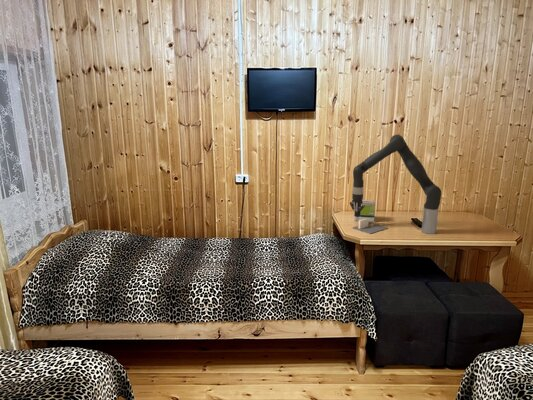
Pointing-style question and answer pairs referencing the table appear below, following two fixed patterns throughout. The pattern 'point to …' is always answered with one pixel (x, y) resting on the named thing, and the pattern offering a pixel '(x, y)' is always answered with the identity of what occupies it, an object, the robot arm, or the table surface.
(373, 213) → the tea box
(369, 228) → the mat
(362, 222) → the tile
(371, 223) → the slot stand
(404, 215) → the table surface
